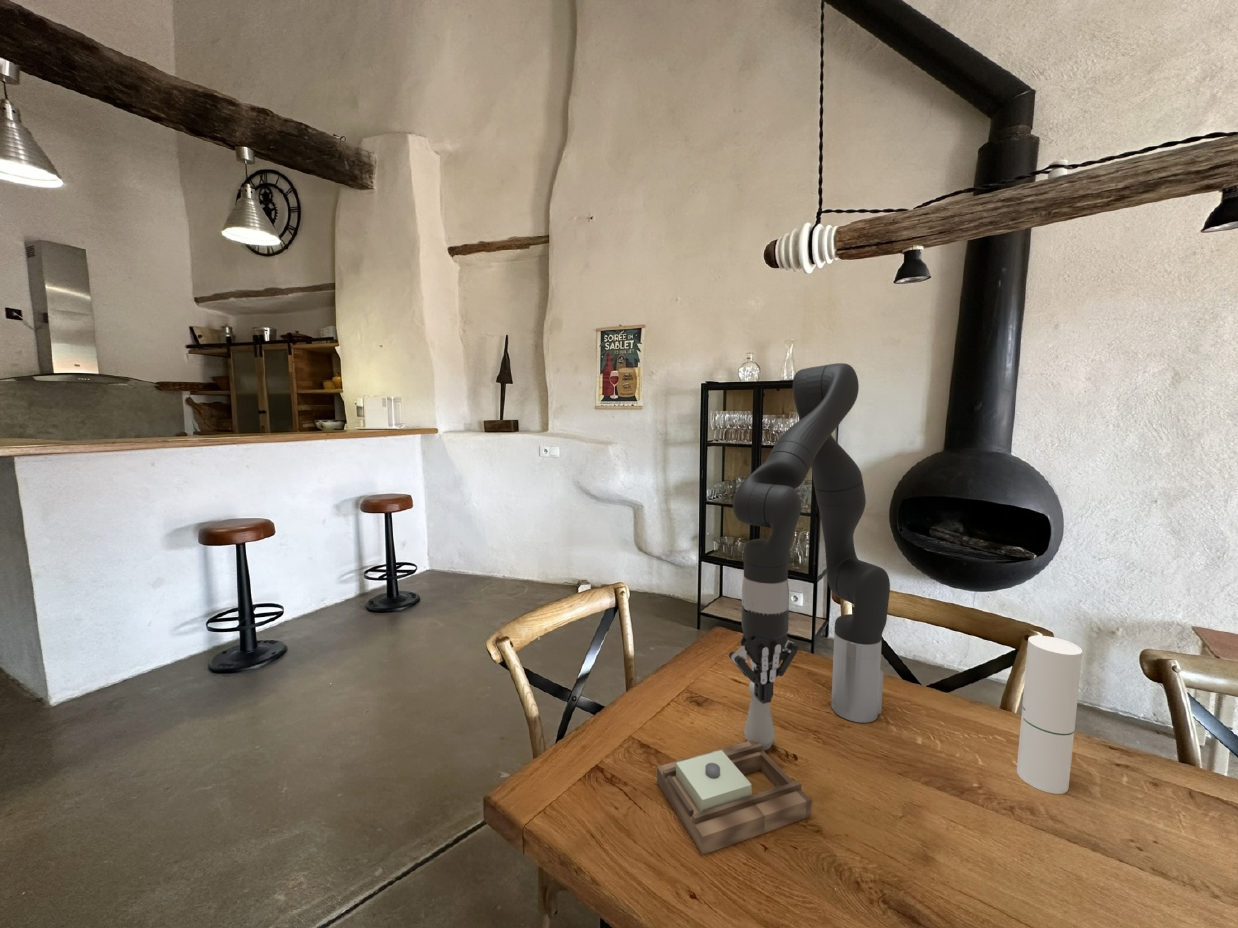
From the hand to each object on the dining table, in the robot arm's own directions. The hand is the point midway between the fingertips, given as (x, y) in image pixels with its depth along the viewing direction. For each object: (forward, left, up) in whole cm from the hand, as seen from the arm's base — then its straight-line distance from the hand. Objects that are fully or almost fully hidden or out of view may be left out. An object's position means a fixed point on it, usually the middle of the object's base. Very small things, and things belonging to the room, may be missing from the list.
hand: (763, 700), depth 88 cm
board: (+6, 0, -16) cm, 18 cm away
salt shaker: (-7, -10, -17) cm, 21 cm away
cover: (+10, 0, -13) cm, 16 cm away
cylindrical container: (-48, +16, -17) cm, 53 cm away
